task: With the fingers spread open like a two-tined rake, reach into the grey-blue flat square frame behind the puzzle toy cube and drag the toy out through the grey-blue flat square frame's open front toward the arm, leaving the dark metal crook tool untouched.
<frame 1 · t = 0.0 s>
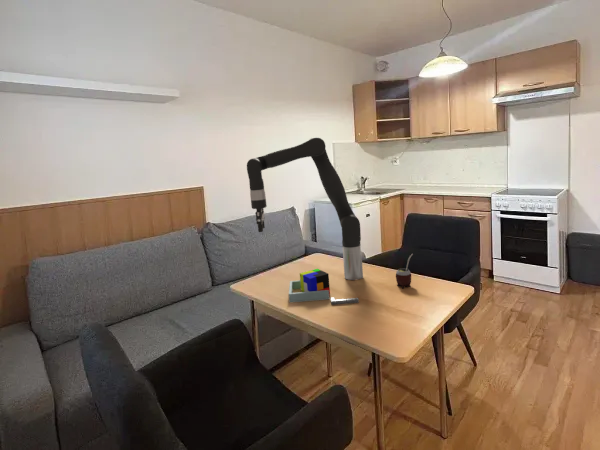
hand: (261, 230, 194), 29 cm above the table, fingers open, 8 cm apart
crook tool: (345, 303, 167), on the table
puzzle toy: (315, 293, 182), on the table
grey-blue flat square frame: (309, 293, 182), on the table
mate gourd: (404, 286, 181), on the table
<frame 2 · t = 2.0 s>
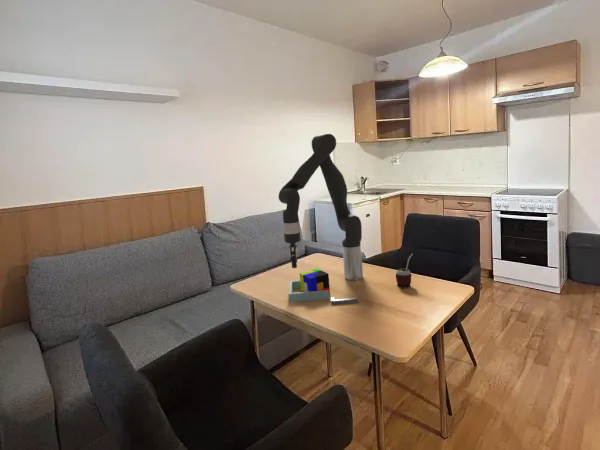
hand: (294, 265, 179), 15 cm above the table, fingers open, 8 cm apart
nothing on the table moved.
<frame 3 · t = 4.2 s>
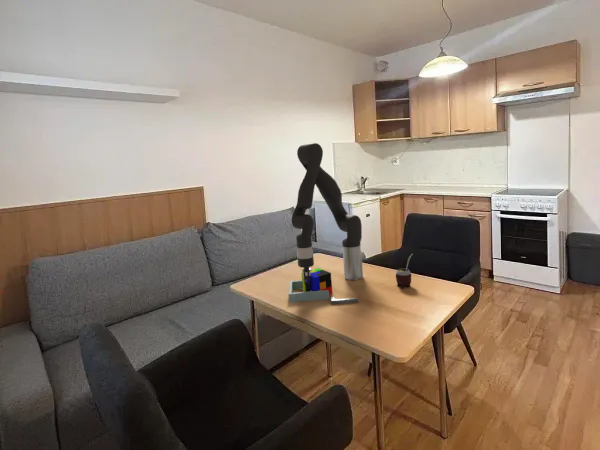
hand: (308, 288, 181), 3 cm above the table, fingers open, 8 cm apart
puzzle toy: (317, 293, 182), on the table, touching gripper
everything else where it was.
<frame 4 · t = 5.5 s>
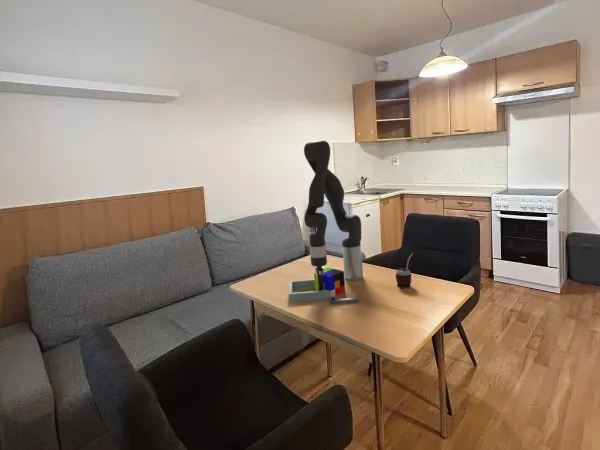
hand: (320, 287, 181), 3 cm above the table
puzzle toy: (330, 292, 181), on the table, touching gripper
everything else where it was.
when the fingers open (3 cm above the table, at t = 5.7 s): puzzle toy stays where it is, on the table.
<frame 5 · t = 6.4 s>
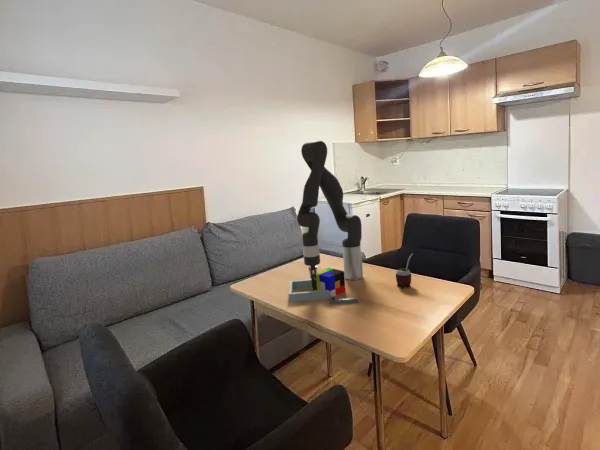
hand: (314, 286, 181), 3 cm above the table, fingers open, 8 cm apart
puzzle toy: (330, 292, 181), on the table
everything else where it was.
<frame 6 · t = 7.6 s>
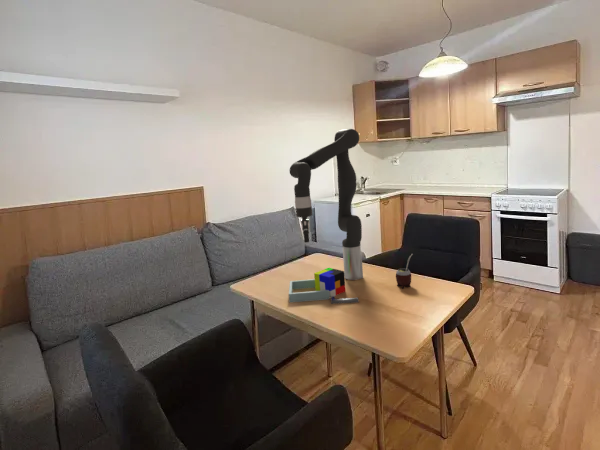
hand: (306, 240, 179), 26 cm above the table, fingers open, 8 cm apart
nothing on the table moved.
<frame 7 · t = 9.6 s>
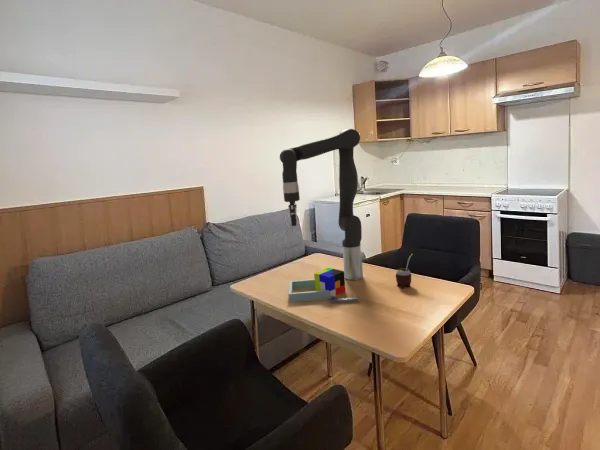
hand: (294, 224, 187), 32 cm above the table, fingers open, 8 cm apart
nothing on the table moved.
at the end: puzzle toy inside the target area (5.1 cm from its centre), on the table; puzzle toy tilted 0°; crook tool moved 0.9 cm from its start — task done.
